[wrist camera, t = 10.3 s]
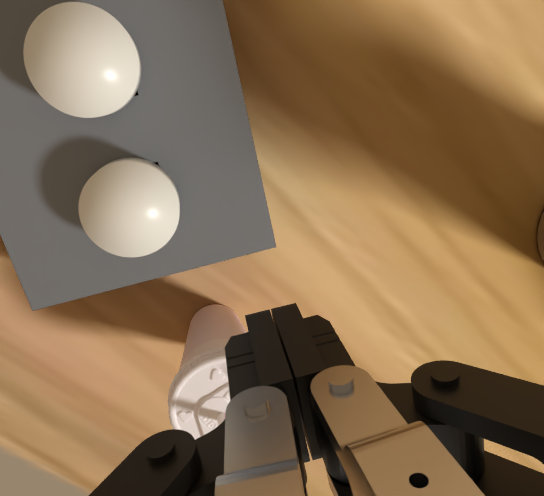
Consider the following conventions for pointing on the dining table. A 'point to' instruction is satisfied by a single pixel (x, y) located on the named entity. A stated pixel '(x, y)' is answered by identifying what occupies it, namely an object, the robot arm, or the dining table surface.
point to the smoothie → (203, 372)
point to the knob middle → (82, 60)
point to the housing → (130, 152)
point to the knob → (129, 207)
